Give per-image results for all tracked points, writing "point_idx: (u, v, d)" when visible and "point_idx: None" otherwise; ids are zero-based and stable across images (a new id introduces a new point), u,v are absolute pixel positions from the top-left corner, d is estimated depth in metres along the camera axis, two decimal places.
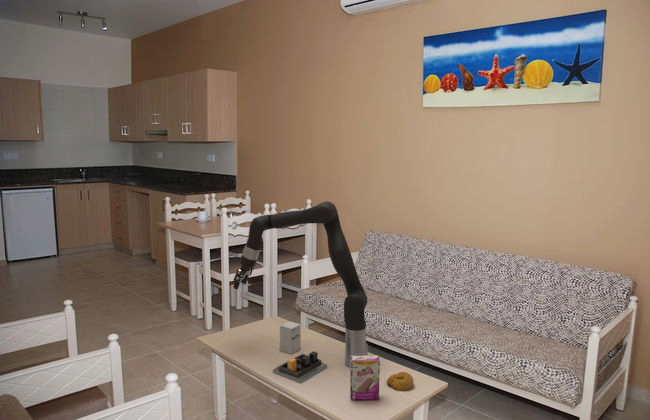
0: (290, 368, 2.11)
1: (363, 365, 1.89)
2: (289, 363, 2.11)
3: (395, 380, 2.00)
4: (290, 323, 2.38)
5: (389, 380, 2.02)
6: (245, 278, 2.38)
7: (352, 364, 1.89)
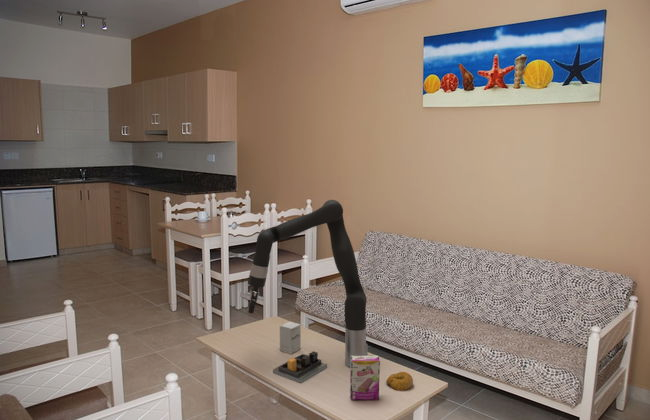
0: (290, 368, 2.11)
1: (363, 365, 1.89)
2: (289, 363, 2.11)
3: (395, 380, 2.00)
4: (290, 323, 2.38)
5: (389, 380, 2.02)
6: (252, 300, 2.23)
7: (352, 364, 1.89)
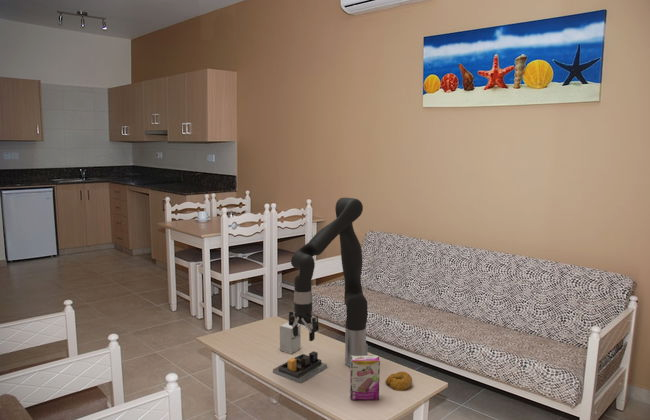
0: (290, 368, 2.11)
1: (363, 365, 1.89)
2: (289, 363, 2.11)
3: (394, 380, 2.01)
4: None
5: (388, 380, 2.02)
6: (296, 329, 2.08)
7: (352, 364, 1.89)
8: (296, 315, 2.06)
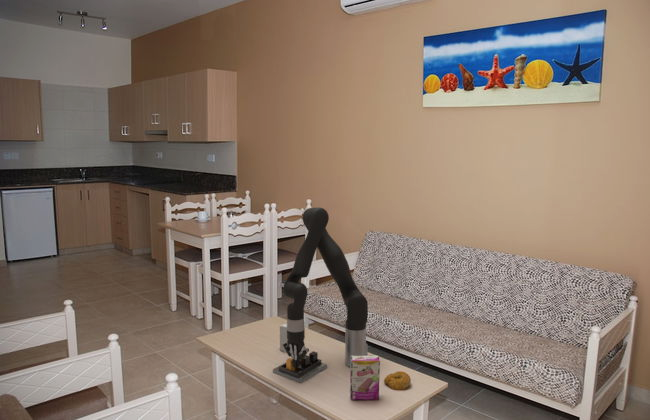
0: (289, 368, 2.11)
1: (363, 365, 1.89)
2: (288, 363, 2.11)
3: (392, 379, 2.01)
4: None
5: (386, 379, 2.02)
6: None
7: (352, 364, 1.89)
8: (289, 341, 2.10)
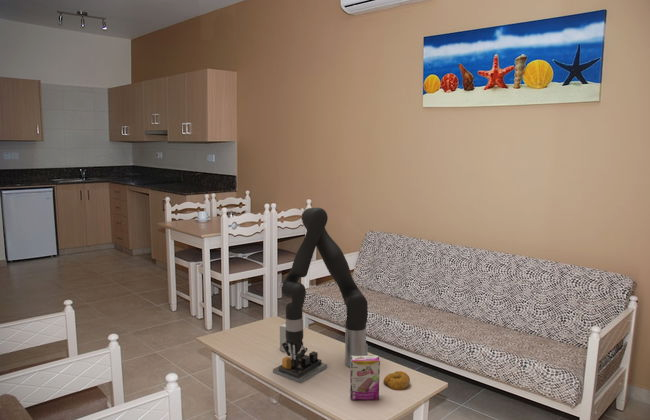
0: (285, 366, 2.12)
1: (363, 365, 1.89)
2: (284, 361, 2.12)
3: (392, 379, 2.01)
4: None
5: (386, 379, 2.02)
6: None
7: (352, 364, 1.89)
8: (287, 341, 2.11)
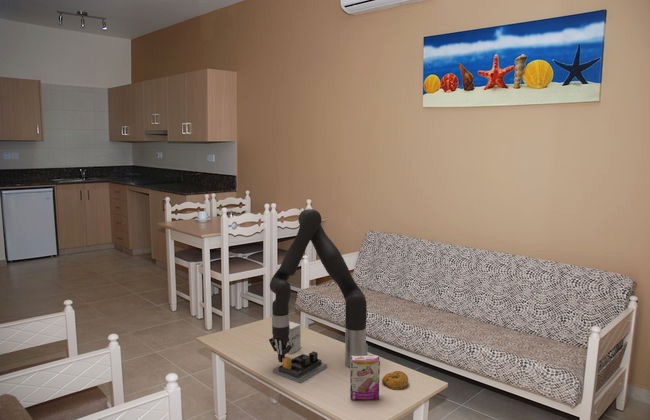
0: (285, 366, 2.12)
1: (363, 365, 1.89)
2: (284, 361, 2.12)
3: (390, 379, 2.01)
4: (290, 323, 2.38)
5: (384, 379, 2.03)
6: None
7: (352, 364, 1.89)
8: (274, 337, 2.15)
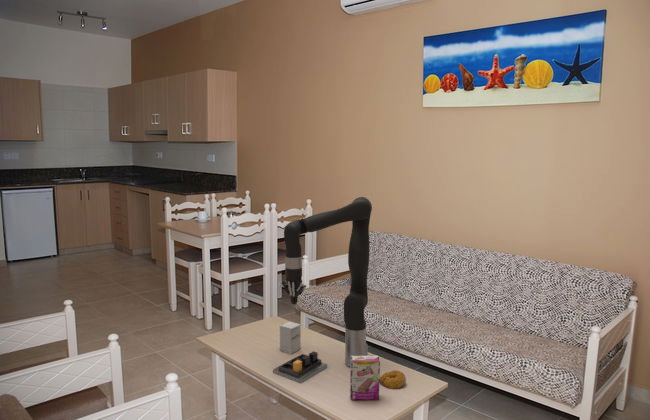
0: (295, 370, 2.09)
1: (363, 365, 1.89)
2: (294, 365, 2.09)
3: (387, 378, 2.02)
4: (290, 323, 2.38)
5: (381, 378, 2.03)
6: None
7: (352, 364, 1.89)
8: (287, 279, 2.22)
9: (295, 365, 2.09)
